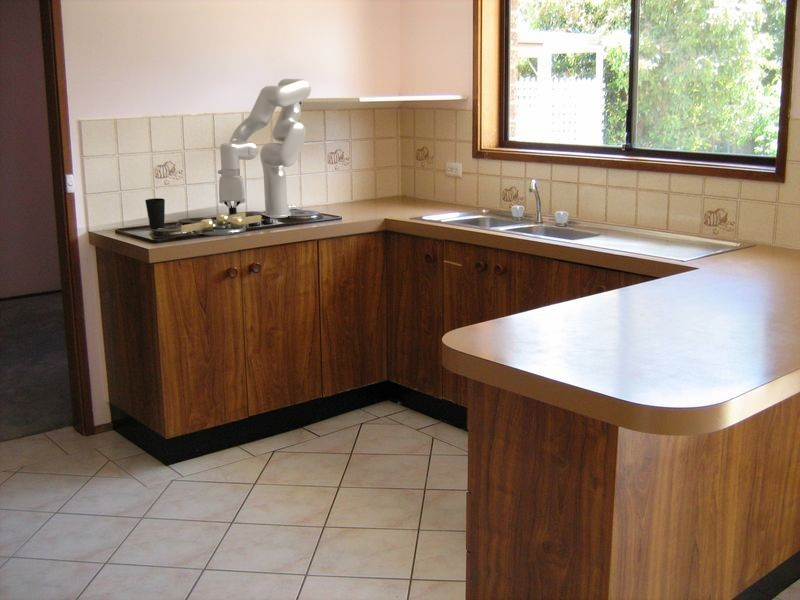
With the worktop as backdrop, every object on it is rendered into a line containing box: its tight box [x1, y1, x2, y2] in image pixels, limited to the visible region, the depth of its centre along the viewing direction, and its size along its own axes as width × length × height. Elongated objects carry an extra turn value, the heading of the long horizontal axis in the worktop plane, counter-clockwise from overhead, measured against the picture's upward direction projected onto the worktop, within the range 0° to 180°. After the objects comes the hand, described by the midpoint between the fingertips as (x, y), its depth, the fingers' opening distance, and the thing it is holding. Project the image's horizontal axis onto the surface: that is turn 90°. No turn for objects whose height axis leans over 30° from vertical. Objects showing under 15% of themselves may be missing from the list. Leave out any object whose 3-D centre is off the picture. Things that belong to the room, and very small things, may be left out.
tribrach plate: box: [195, 222, 247, 237], centre depth 363 cm, size 20×20×3 cm
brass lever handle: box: [230, 214, 263, 228], centre depth 366 cm, size 14×5×4 cm, turn 134°
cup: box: [144, 197, 166, 230], centre depth 368 cm, size 8×8×12 cm
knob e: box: [180, 218, 214, 233], centre depth 355 cm, size 14×5×4 cm, turn 138°
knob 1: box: [216, 211, 247, 225], centre depth 372 cm, size 14×5×4 cm, turn 140°
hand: (233, 216), depth 378 cm, fingers closed
